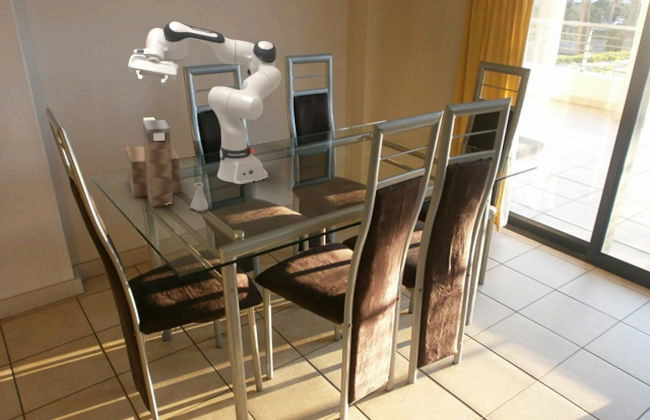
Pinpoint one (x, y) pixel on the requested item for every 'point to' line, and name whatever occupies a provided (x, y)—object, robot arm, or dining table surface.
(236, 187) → the dining table surface
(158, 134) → the gauge bar
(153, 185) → the walnut holder
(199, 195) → the flask
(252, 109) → the robot arm
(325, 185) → the dining table surface
